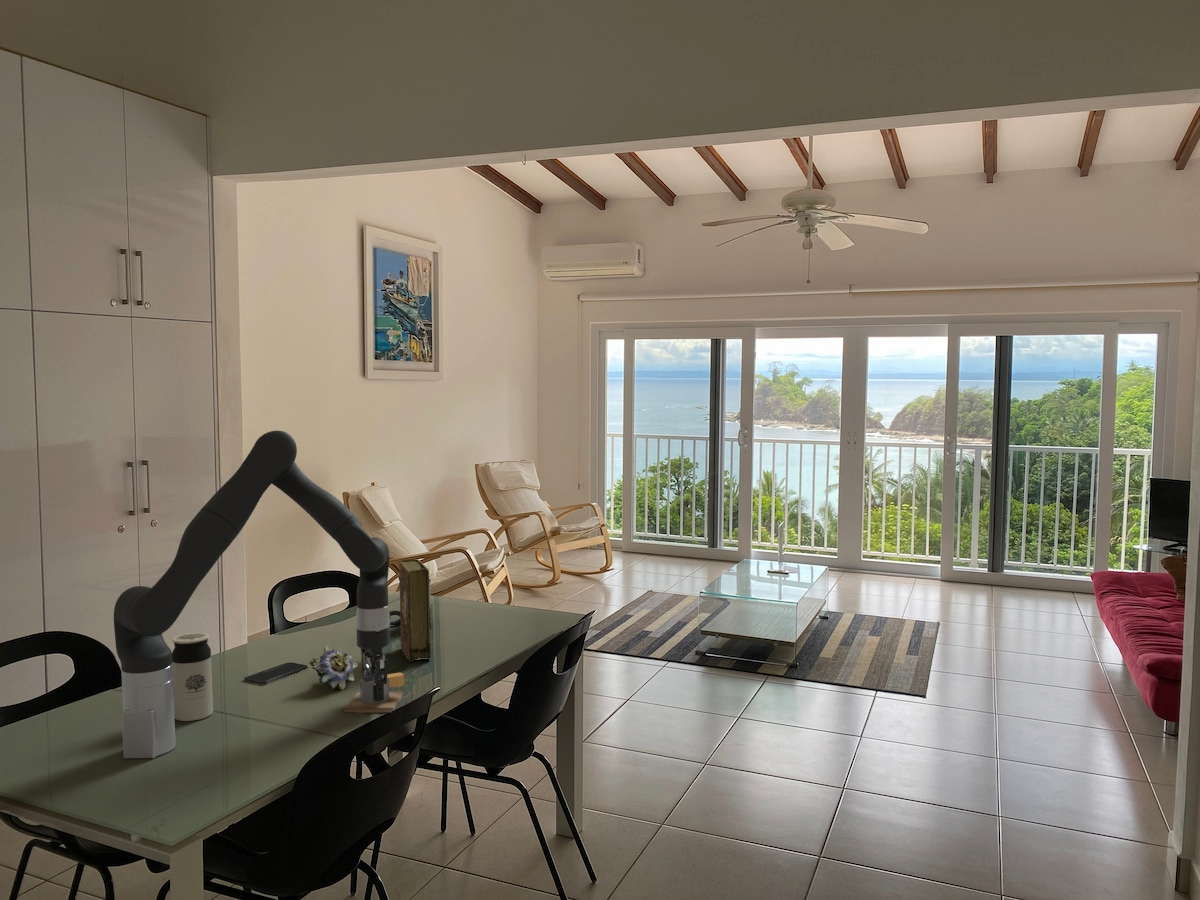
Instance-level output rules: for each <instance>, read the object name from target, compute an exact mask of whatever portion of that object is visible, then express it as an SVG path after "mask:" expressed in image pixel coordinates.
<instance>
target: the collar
mask: <svg viewBox="0 0 1200 900" xmlns="http://www.w3.org/2000/svg"><path fill="white" fill-rule="evenodd" d="M379 679H381V675H380V676H379ZM371 681H373V679H372V676H370V675H367V676H365V675H363V677H361V678H360V679H359V683H360V684H359V692H360V700H361V701H362V702H363V703H364V704H378V703H383V702H385V701H387V700H388V699H389V692H390V688H397V687H401V686H405V675H404V674H403V673H402V672H395V673H389V674H388V673H387V684H384V699H383V700H382V701H377V702H376V701H374V694H373V682H371Z"/></svg>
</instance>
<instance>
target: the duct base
mask: <svg viewBox="0 0 1200 900" xmlns="http://www.w3.org/2000/svg"><path fill="white" fill-rule="evenodd" d="M371 682H373V681H371ZM403 695H404V696H405V691H389V699H388V700H387V701H385V702H383V703H378V704H364V703H363V702H362V701H361V700H360V691H356V694H355V695H354V696H353V697H352V698H351V700H350V701H349V702H348V703H347V704H346V706H344V713H345V712H350V714H351V712H353V713H354V712H355V713H390V712H389V711H391V710H393V709H395V708H396V709H397V707H398V706H399V704H400V703H399V701H400V700H401V698H402V696H403ZM402 699H403V698H402ZM401 701H402V700H401ZM401 701H400V702H401ZM398 703H399V704H398ZM397 705H398V706H397ZM396 709H395V710H396Z"/></svg>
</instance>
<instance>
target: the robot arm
mask: <svg viewBox="0 0 1200 900" xmlns="http://www.w3.org/2000/svg"><path fill="white" fill-rule="evenodd" d="M297 448H298V447H297V443H296V440H295V438H293V436H292V435H291V434H289V433H288V432H286V431H283V430H271V431H267V432H266V433H264V434H262V435H260V436H259V437H258V438H257V439H256V441H255V442H254V445H253V446H252V448H251V450H250V451H249V453H248V454H247V456H246V457H245V459H244V461H242V464H241V465H240V466H239V467H238V469H237V470H236V471H235V472H234V474H233V475H232V476H231V477H230V478H229V479H228V480H226V482H225V483H224V484H223V485H222V486H220V488H219V489H218V490H217V491H216V492H215V493H214V494H213V496H211V498H210V499H209V500H208V501H207V502H206V503H205V504H204V505H203V507H201V509H200V510H199V511H198V512H197V513H196V514H195V516H194V517H193V519H191V521H190V522H189V523H188V525H187V526H186V528H185V529H184V531H183V534H182V536H181V539H180V542H179V545H178V548H177V551H176V554H175V557H174V559H173V560H172V563H171V564H170V566H169V567H168V569H167V570H166V572H165V573H163V575H162V576H161V577H160V579H158V581H156V583H155V584H154V585H153V586H152V587H150V586H149V587H148V586H145V585H143V586H142V585H137V586H131V587H130V588H127V589H126V590H124V591H122V593H121V594H119V597H118V598H117V599H116V602H115V604H114V609H113V628H114V640H115V641H114V642H115V649H116V650H115V651H116V654H117V657H118V658H119V659H118V660H119V661H120V667H121V668H120V669H121V690H122V691H121V693H122V713H121V722H122V723H121V727H122V748H123V749H122V750H123V752H122V753H123V759H154V758H156V757H158V756H161V755H165V754H166V753H168V752H171V751H172V750H173V749H175V747H176V744H177V743H176V727H175V726H176V723H175V722H176V721H175V720H176V719H175V718H174V692H173V665H172V652H173V651H172V650H171V648H170V647H169V646H168V643H166V641H165V639H164V636H163V633H165V632H166V631H168V630H169V629H170V628H171V627H172V626H173V625H174V623H175V622H176V621H177V619H179V616H180V615H181V613H182V612H183V610H184V609H185V607H186V605H187V603H188V602H189V601H190V599H191V597H192V596H193V594H194V593H195V591H196V589H197V588H198V586H199V585H200V583H201V582H202V581H203V579H204V578H205V577H206V576H207V574H208V573H209V572H210V571H211V570H212V568H213V567H214V566H215V564H216V563H217V562H218V560H219V559H220V557H221V556H222V555H223V553H224V552H226V550H227V549H228V548H229V547H230V546H231V544H232V543H233V542H234V540H235V539H236V538H237V537H238V535H239V534H240V532H241V531H242V530H243V529H244V527H245V525H246V524H247V523H248V520H249V519H250V518H251V516H252V514H253V512H254V510H255V509H256V507H257V505H258V503H259V501H260V500H261V498H262V497H263V495H264V494H265V492H266V491H267V490H268V489H269V487H270V486H271V485H273V486H275V487H276V488H277V489H279V491H281V492H283V493H284V494H285V495H286V496H287V497H289V498H290V499H291V500H292V501H293V502H295V503H296V504H297V505H298V506H299V507H300V508H302V510H304V511H305V512H306V513H307V514H308V515H309V516H310V517H311V518H312V519H313V520H314V521H315V522H316V523H317V524H318V525H319V526H320V527H321V528H322V529H323V531H325V532H326V533H327V534H328V535H329V536H330V537H331V538H332V539H333V540H334V541H335V542H336V543H337V544H338V546H339V547H340V548H341V550H342V551H343V553H344V554H345V555H346V557H348V559H349V560H350V562H351V563H352V564H353V565H354V566H355V567H357V568H358V569H359V581H358V584H357V588H356V615H355V621H356V623H355V624H356V627H355V628H356V632H355V633H356V646H357V647H358V648H360V655H361V657H360V658H361V671H362V672H363V676H367V675H370V676H372V679H373V694H374V701H376V702H377V701H382V700H383V699H384V684H387V675H388V662H389V661H388V659H387V658H386V656H385V653H383V649H384V648H385V647H389V645H390V644H391V626H390V621H391V617H390V614H389V612H390V609H389V589H388V578H389V570H390V569H389V568H390V549H389V547H388V544H387V543H386V542H385V540H383V539H382V538H379V537H370V535H369V534H368V533H367V532H366V531H365V530H364V529H363V527H362V523H361V521H360V520H359V518H358V517H357V516H356V515H355V514H354V513H353V512H352V511H351V510H350V509H349V508H348V507H347V506H346V505H345V504H344V503H343V502H342V501H340V499H339V498H337V497H336V496H335V495H333V494H332V493H330V492H329V491H327V490H325V489H324V488H322V487H320V486H319V485H317V484H316V483H315V482H313V481H312V479H310V478H309V477H308V476H306V474H305V473H303V471H302V470H301V469H300V467H299V466H298V464H297V463H296V458H297V456H298V455H297V453H298V449H297ZM380 675H381V679H379V676H380Z"/></svg>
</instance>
